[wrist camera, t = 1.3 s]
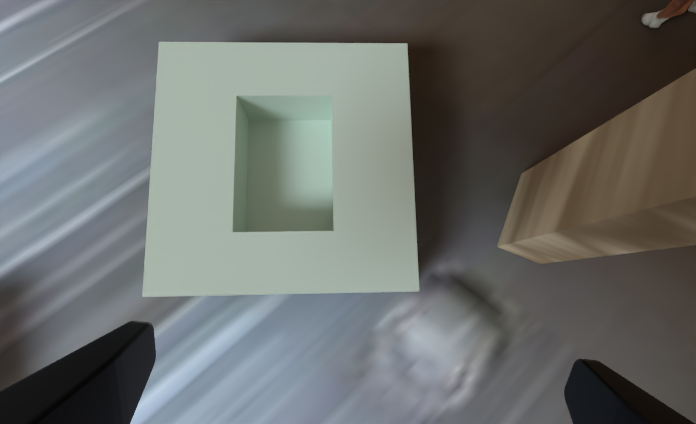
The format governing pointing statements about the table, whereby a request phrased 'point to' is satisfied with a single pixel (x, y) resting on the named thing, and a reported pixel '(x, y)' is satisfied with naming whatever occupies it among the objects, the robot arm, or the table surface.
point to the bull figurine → (668, 12)
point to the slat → (613, 186)
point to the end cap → (281, 170)
